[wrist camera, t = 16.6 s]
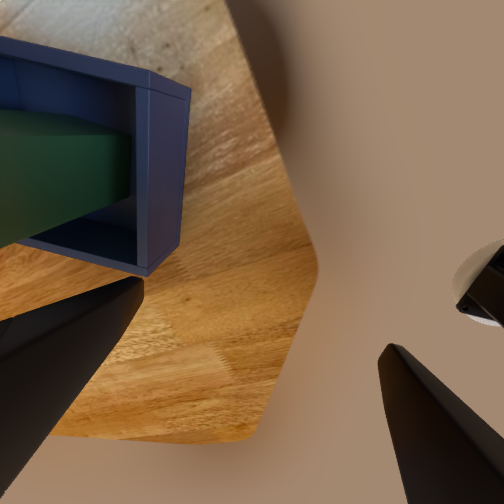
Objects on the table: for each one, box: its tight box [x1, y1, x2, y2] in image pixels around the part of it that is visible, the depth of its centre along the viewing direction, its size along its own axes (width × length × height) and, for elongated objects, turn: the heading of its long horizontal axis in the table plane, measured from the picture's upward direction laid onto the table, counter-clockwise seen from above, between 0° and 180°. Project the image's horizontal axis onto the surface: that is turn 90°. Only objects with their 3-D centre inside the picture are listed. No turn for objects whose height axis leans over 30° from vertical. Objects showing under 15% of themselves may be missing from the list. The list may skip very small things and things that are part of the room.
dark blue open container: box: [0, 36, 191, 277], centre depth 18 cm, size 14×13×6 cm
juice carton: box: [0, 109, 132, 248], centre depth 14 cm, size 5×5×13 cm
